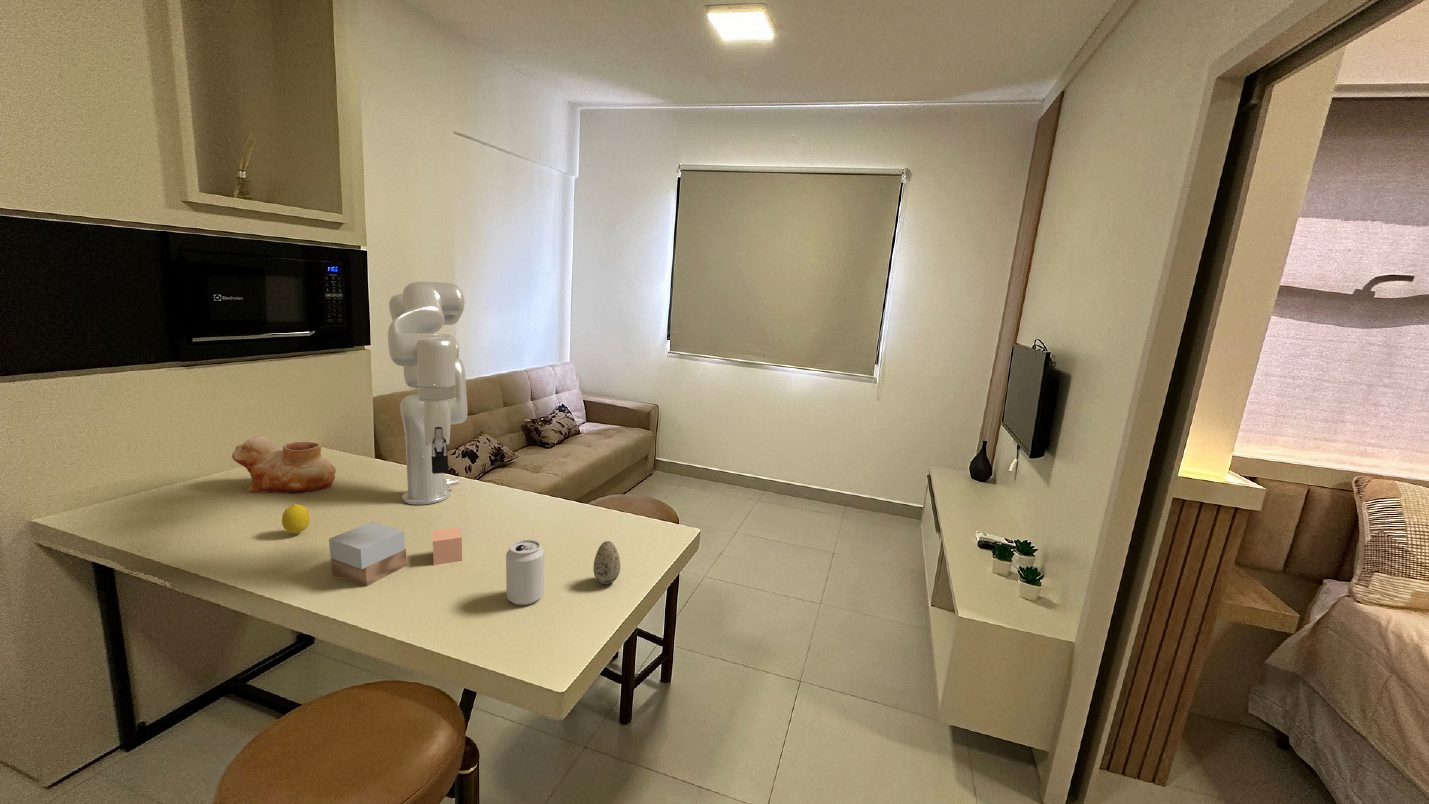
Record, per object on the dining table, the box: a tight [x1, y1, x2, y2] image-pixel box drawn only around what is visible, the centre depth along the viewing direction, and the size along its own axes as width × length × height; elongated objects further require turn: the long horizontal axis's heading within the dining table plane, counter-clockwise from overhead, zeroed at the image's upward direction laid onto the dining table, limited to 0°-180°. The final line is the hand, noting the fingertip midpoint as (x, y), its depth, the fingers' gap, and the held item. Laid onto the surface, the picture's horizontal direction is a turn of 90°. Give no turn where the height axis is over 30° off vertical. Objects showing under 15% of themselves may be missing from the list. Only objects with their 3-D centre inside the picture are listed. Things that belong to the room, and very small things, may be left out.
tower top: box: [328, 521, 406, 569], centre depth 121 cm, size 10×10×4 cm
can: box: [505, 538, 545, 606], centre depth 114 cm, size 8×8×12 cm
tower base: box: [330, 548, 408, 587], centre depth 122 cm, size 10×10×4 cm
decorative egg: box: [592, 540, 621, 585], centre depth 123 cm, size 6×6×10 cm
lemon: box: [281, 503, 311, 536], centre depth 136 cm, size 6×6×8 cm
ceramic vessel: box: [231, 435, 336, 494], centre depth 164 cm, size 14×26×15 cm, turn 96°
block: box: [431, 527, 463, 566], centre depth 129 cm, size 6×6×6 cm
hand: (440, 466), depth 125 cm, fingers open, 9 cm apart
